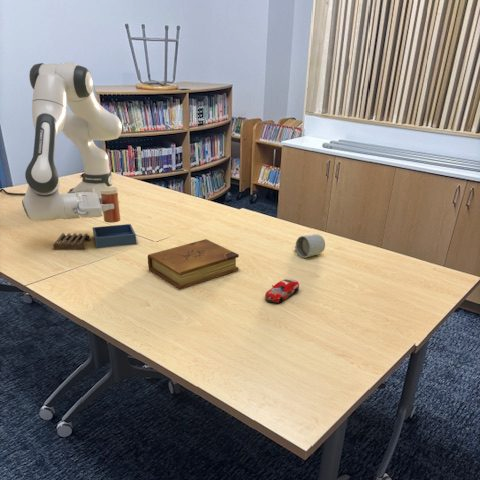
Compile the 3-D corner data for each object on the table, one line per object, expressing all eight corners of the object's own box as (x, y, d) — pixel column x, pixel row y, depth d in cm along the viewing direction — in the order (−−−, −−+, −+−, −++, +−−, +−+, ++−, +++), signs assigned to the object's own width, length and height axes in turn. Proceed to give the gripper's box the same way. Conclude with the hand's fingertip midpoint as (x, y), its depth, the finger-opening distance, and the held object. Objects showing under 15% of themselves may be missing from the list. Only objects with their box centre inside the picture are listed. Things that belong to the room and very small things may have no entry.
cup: (104, 223, 173) (100, 191, 167) (103, 218, 178) (99, 187, 172) (121, 221, 175) (118, 190, 169) (119, 217, 179) (116, 186, 174)
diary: (205, 253, 170) (204, 238, 167) (238, 270, 158) (238, 254, 155) (148, 269, 157) (147, 253, 154) (180, 289, 145) (179, 271, 142)
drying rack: (54, 249, 171) (52, 242, 170) (61, 239, 180) (60, 233, 179) (83, 249, 172) (82, 242, 170) (90, 239, 180) (89, 233, 179)
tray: (96, 248, 173) (95, 238, 171) (93, 236, 183) (92, 227, 181) (136, 244, 177) (135, 234, 175) (131, 233, 187) (130, 223, 185)
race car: (276, 306, 136) (277, 293, 134) (261, 300, 139) (262, 288, 137) (302, 290, 145) (303, 278, 143) (287, 285, 148) (288, 274, 146)
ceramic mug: (325, 255, 170) (327, 235, 166) (308, 260, 166) (310, 239, 162) (305, 247, 178) (307, 227, 174) (288, 251, 173) (290, 231, 170)
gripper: (72, 205, 159) (115, 202, 163) (70, 190, 176) (108, 187, 180) (75, 223, 162) (117, 220, 166) (73, 207, 179) (110, 204, 183)
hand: (112, 203), depth 173 cm, fingers closed on cup, 6 cm apart
